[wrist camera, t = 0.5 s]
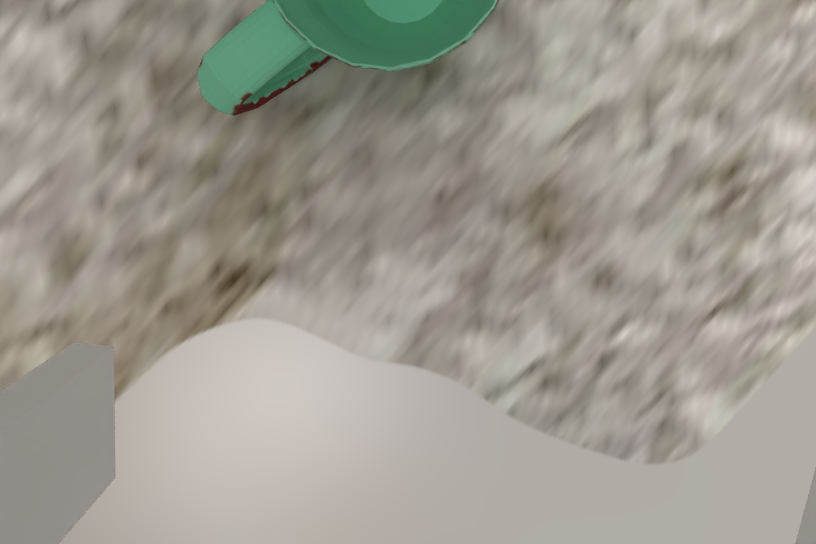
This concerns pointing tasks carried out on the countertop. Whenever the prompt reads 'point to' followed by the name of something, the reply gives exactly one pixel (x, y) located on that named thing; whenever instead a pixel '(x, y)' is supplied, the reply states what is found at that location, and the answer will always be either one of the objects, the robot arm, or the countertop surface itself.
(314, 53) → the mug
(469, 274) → the countertop surface
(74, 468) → the robot arm
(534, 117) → the countertop surface
